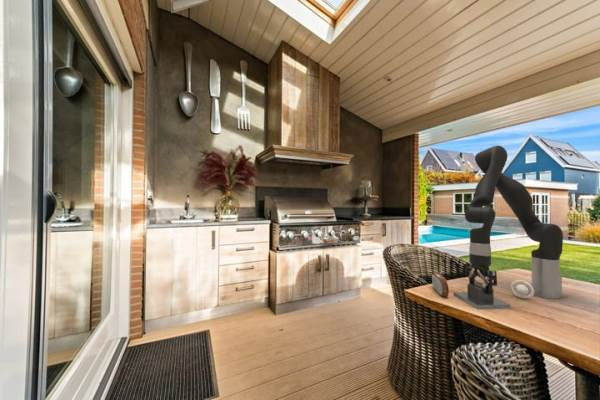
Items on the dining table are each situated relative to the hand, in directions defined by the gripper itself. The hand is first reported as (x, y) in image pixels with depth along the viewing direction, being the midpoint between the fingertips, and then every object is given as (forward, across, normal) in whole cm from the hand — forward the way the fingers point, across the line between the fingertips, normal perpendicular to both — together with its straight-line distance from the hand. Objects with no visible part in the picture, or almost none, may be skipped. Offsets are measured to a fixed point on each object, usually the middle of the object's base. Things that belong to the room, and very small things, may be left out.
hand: (480, 290), depth 105 cm
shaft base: (+5, 0, 0) cm, 5 cm away
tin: (+5, -11, -11) cm, 16 cm away
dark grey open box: (+3, 0, 0) cm, 3 cm away
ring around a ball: (+5, -2, +21) cm, 22 cm away
